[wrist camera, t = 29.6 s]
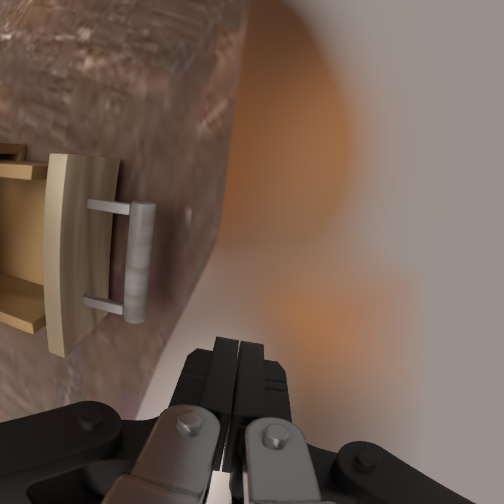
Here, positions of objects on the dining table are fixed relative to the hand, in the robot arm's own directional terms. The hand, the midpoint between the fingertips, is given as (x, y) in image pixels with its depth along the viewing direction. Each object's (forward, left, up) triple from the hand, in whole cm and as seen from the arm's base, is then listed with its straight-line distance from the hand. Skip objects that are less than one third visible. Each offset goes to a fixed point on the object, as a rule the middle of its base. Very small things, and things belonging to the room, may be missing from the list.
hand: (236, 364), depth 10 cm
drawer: (+14, 0, -12) cm, 19 cm away
